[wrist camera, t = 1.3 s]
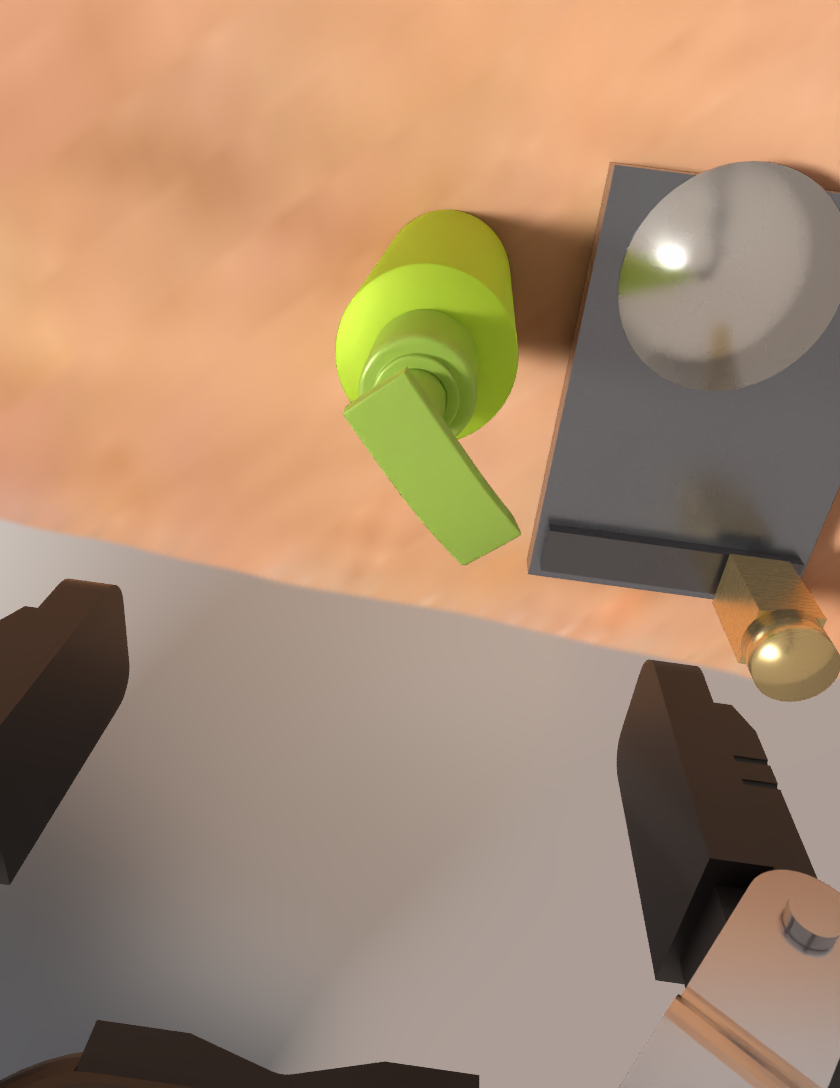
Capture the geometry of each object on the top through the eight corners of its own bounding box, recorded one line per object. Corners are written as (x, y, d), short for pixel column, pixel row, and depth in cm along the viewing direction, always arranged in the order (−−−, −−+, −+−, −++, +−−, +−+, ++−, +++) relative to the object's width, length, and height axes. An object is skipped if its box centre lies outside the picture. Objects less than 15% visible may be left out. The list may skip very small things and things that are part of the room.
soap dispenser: (441, 381, 39) (401, 609, 22) (358, 259, 36) (237, 408, 19) (545, 314, 37) (592, 507, 20) (465, 181, 34) (437, 266, 17)
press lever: (725, 547, 39) (768, 630, 33) (797, 557, 39) (854, 641, 33) (704, 606, 41) (741, 695, 35) (773, 616, 41) (822, 706, 35)
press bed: (614, 141, 33) (622, 144, 31) (946, 183, 33) (975, 188, 31) (526, 560, 43) (528, 582, 41) (779, 594, 43) (792, 618, 41)
